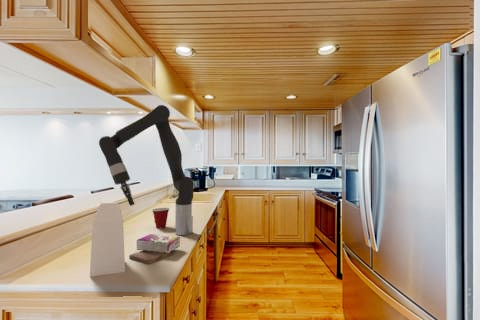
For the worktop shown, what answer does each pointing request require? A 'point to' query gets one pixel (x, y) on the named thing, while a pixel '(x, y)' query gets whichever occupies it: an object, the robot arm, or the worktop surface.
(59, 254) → the worktop surface
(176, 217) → the robot arm
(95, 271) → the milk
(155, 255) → the board
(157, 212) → the plastic cup
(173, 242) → the candy bar box
